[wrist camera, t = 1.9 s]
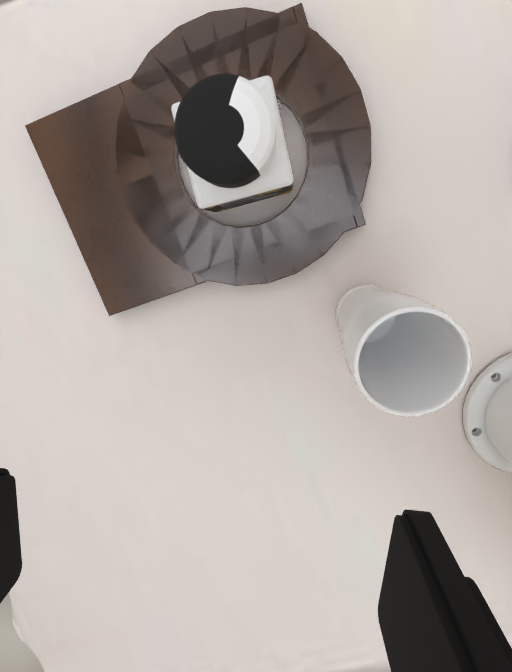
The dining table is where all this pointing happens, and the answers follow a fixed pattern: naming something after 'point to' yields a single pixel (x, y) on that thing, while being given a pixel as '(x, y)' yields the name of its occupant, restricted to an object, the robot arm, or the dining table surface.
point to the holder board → (163, 167)
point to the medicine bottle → (232, 141)
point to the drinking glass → (402, 350)
